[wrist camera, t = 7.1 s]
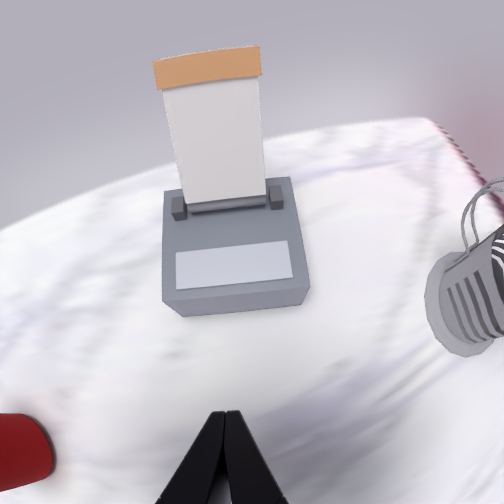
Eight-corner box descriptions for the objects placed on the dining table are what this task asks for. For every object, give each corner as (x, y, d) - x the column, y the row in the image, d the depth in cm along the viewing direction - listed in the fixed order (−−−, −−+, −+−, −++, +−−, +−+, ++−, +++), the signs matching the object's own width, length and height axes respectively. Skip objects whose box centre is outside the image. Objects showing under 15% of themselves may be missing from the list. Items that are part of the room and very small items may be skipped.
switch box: (300, 304, 23) (313, 280, 17) (182, 316, 23) (156, 296, 17) (285, 211, 26) (290, 167, 20) (180, 223, 26) (159, 182, 20)
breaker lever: (270, 210, 19) (259, 46, 13) (185, 219, 19) (152, 61, 13) (267, 195, 21) (256, 45, 14) (188, 204, 21) (159, 58, 14)
